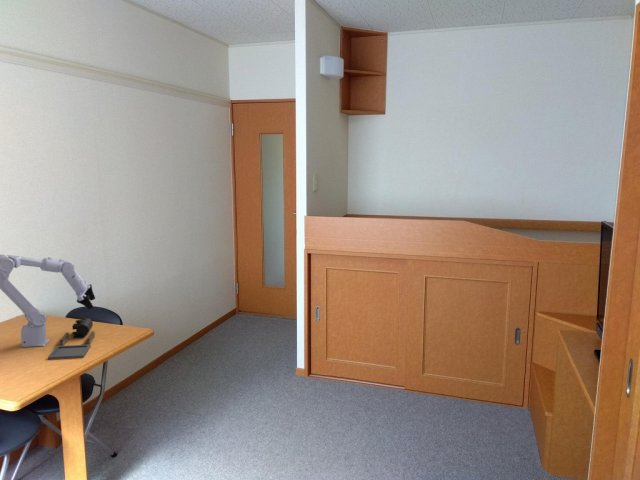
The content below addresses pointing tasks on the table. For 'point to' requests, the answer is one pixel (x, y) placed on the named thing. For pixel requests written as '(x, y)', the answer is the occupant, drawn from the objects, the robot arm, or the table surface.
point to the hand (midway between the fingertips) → (92, 303)
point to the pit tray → (69, 351)
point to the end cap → (82, 328)
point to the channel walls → (66, 337)
